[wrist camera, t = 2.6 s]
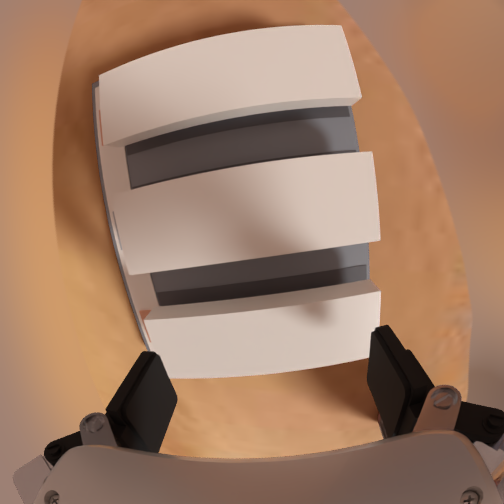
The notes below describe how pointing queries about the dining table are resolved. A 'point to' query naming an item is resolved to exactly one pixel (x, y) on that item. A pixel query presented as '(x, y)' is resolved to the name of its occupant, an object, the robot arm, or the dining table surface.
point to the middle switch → (249, 212)
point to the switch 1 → (227, 81)
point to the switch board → (216, 158)
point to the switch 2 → (266, 332)
